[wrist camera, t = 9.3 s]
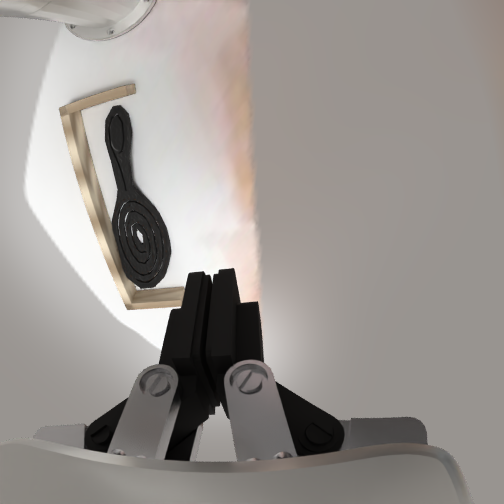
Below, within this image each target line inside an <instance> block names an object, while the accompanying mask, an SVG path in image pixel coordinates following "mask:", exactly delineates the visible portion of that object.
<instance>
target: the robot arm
mask: <svg viewBox="0 0 504 504" xmlns="http://www.w3.org/2000/svg"><path fill="white" fill-rule="evenodd" d="M155 2H156V0H150V1H149V2H148V0H0V17H18V18H30V19H39V20H47V21H55V22H61V23H65V25H66V27H67V28H68V29H69V31H70V32H71V33H73V34H74V35H75V36H77V37H80V38H82V39H86V40H93V41H101V40H108V39H112V38H115V37H118V36H120V35H122V34H124V33H126V32H128V31H129V30H131V29H132V28H134V27H135V26H136V25H137V24H139V23H140V22H141V21H142V20H143V19H144V18H145V17H146V15H147V14H148V13H149V12H150V10H151V9H152V7H153V6H154V4H155ZM75 26H76V27H75ZM113 30H114V32H113V34H112V31H113ZM220 402H221V404H222V406H223V409H224V411H225V413H226V416H227V418H228V419H230V423H231V429H232V434H233V441H234V446H235V452H236V457H237V462H195V461H196V456H197V452H198V448H199V444H200V439H201V435H202V431H203V422H205V421H206V420H207V419H208V418H209V415H214V414H215V407H216V406H220ZM0 504H474V503H473V499H472V496H471V493H470V490H469V487H468V484H467V481H466V479H465V476H464V474H463V472H462V470H461V468H460V466H459V464H458V463H457V461H456V460H455V459H454V457H453V456H452V455H451V454H450V453H448V452H447V451H445V450H444V449H442V448H439V447H435V446H431V445H428V443H427V431H426V428H425V426H424V424H423V423H422V422H421V421H420V420H418V419H416V418H413V417H393V418H351V420H337V419H336V418H335V417H333V416H332V415H330V414H328V413H326V412H325V411H323V410H321V409H320V408H318V407H316V406H315V405H313V404H311V403H309V402H308V401H306V400H305V399H303V398H301V397H300V396H298V395H296V394H295V393H293V392H292V391H290V390H288V389H287V388H285V387H284V386H282V385H281V384H279V383H277V382H276V381H275V379H274V376H273V373H272V371H271V369H270V367H268V366H267V365H266V364H265V363H264V357H263V341H262V329H261V320H260V312H259V305H258V301H257V302H247V303H241V302H240V297H239V291H238V286H237V280H236V275H235V270H234V268H231V269H221V270H219V273H218V274H214V276H213V284H212V280H211V276H210V275H205V273H204V271H202V272H192V273H189V274H188V278H187V282H186V287H185V292H184V296H183V301H182V305H181V308H179V309H172V310H171V313H170V316H169V320H168V325H167V329H166V333H165V338H164V342H163V346H162V351H161V356H160V361H159V364H156V365H153V366H149V367H148V368H146V369H144V370H143V371H142V372H141V373H140V374H139V375H138V377H137V379H136V381H135V383H134V386H133V388H132V390H131V393H130V395H129V397H128V398H127V399H125V400H124V401H122V402H121V403H119V404H118V405H117V406H115V407H114V408H112V409H111V410H110V411H108V412H107V413H105V414H104V415H102V416H101V417H100V418H98V419H97V420H95V421H94V422H93V423H91V424H90V426H86V425H85V424H75V425H61V426H45V427H41V428H40V429H39V430H37V432H36V433H35V435H34V438H33V439H30V438H17V439H11V440H6V441H3V442H1V443H0Z"/></svg>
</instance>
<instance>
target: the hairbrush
mask: <svg viewBox="0 0 504 504" xmlns="http://www.w3.org/2000/svg"><path fill="white" fill-rule="evenodd" d="M117 113H118V115H119V116H118V115H116V114H117ZM127 114H128V113H126V110H125V109H124V108H123V107H121V106H120V105H119V106H114V107H112V109H111V111H110V113H109V114H108V116H107V118H106V120H105V143H106V146H107V150H108V153H109V156H110V160H111V163H112V168H113V172H114V176H115V180H116V185H117V189H118V191H117V201H116V205H115V209H114V213H113V218H112V231H113V234H114V237H115V242H116V247H118V248H117V252H118V251H119V255H120V256H119V257H120V259H121V264H122V269H123V271H124V273H125V275H126V277H127V278H128V279H129V280H130V281H132V282H133V283H134V284H136V285H137V286H138V287H140V288H141V289H142V288H150V289H151V288H152V287H156V285H157V284H158V283H160V281H161V280H162V279H163V278H164V277H165V274H166V272H167V268H168V265H169V259H170V255H171V247H170V240H169V235H168V231H167V228H166V226H165V223H164V221H163V219H162V217H161V215H160V213H159V212H158V211H157V209H155V208H154V207H155V206H153V205H152V204H151V202H150V201H149V200H148V199H147V198H146V197H145V196H144V195H143V194H142V193H141V192H140V191H139V190H138V189H137V188H136V187H135V186H134V185H133V183H132V175H131V166H130V149H131V137H132V130H131V124H130V118H129V117H128V115H129V114H128V115H127ZM115 115H116V116H115ZM114 116H115V117H114ZM122 150H123V151H122ZM128 200H129V201H128ZM127 201H128V202H127ZM137 201H138V202H137ZM125 202H127V203H126V204H124V203H125ZM123 204H124V206H123V207H122V205H123ZM121 207H122V209H121ZM120 209H121V211H120ZM131 210H132V211H131ZM133 210H134V211H133ZM128 212H129V213H128ZM119 213H120V217H119ZM127 213H128V215H127V219H126V222H125V216H126V214H127ZM118 219H119V228H118ZM156 221H157V222H156ZM138 223H139V224H138ZM157 223H158V224H157ZM133 224H134V225H133ZM132 225H133V226H132ZM158 225H159V226H158ZM131 226H132V231H133V236H132V231H131ZM125 227H126V231H125ZM144 228H145V229H144ZM137 229H138V230H139V231H140V232H141V233H142V235H143V243H142V244H141V241H140V240H139V239H138V237H137V232H136V231H138V230H137ZM152 229H153V230H152ZM145 230H146V231H145ZM153 231H154V233H153ZM119 232H120V235H119ZM140 232H139V233H140ZM126 233H127V236H126ZM147 234H148V235H147ZM154 235H155V236H154ZM148 236H149V237H148ZM162 238H163V239H162ZM155 240H156V241H155ZM149 241H150V242H149ZM163 241H164V244H163ZM135 244H136V245H135ZM123 249H124V250H123ZM150 252H151V253H150ZM157 254H158V256H157ZM149 256H150V258H149ZM148 258H149V259H148ZM147 259H148V260H147ZM156 259H157V262H156ZM146 260H147V261H146ZM162 260H163V265H162V267H161V264H162ZM145 261H146V262H145ZM155 262H156V265H155V267H154V264H155ZM153 267H154V268H153ZM160 267H161V269H160ZM152 268H153V270H152V271H151V272H149V271H150V270H151V269H152ZM159 269H160V271H159ZM158 271H159V272H158ZM157 272H158V274H157V275H156V273H157ZM155 275H156V276H155ZM154 276H155V277H154ZM144 290H145V289H144Z"/></svg>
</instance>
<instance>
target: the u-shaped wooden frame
mask: <svg viewBox="0 0 504 504" xmlns="http://www.w3.org/2000/svg"><path fill="white" fill-rule="evenodd" d="M135 93H136V90H135V84H130V85H125V86H121V87H118V88H114V89H111V90H108V91H105V92H102V93H99V94H96V95H93V96H90V97H87V98H84V99H81V100H78V101H76V102H73V103H70V104H68V105H65V106H63V107H60V108H59V111H60V116H61V120H62V125H63V129H64V133H65V137H66V141H67V145H68V149H69V153H70V156H71V160H72V164H73V167H74V171H75V174H76V177H77V181H78V184H79V187H80V190H81V194H82V197H83V200H84V203H85V206H86V209H87V212H88V215H89V218H90V220H91V223H92V226H93V229H94V232H95V234H96V237H97V240H98V242H99V245H100V247H101V250H102V253H103V255H104V258H105V260H106V263H107V265H108V267H109V270H110V272H111V275H112V277H113V279H114V282H115V284H116V286H117V289H118V291H119V293H120V295H121V297H122V300H123V302H124V304H125V306H126V308H127V310H135V309H151V308H166V307H179V306H181V305H182V301H183V296H184V292H185V290H184V287H175V288H164V289H153V290H141V291H136V289H135V286H134V284H133V282H132V281H130V280H129V279H128V278H127V277H126V275H125V273H124V271H123V269H122V264H121V259H120V257H119V256H120V255H119V251H118V252H117V248H118V247H116V242H115V237H114V234H113V231H112V224H111V221H110V218H109V215H108V212H107V209H106V206H105V203H104V199H103V196H102V193H101V190H100V186H99V183H98V179H97V176H96V172H95V169H94V165H93V161H92V158H91V154H90V150H89V146H88V142H87V138H86V134H85V129H84V125H83V121H82V116H81V111H80V110H83V109H86V108H89V107H92V106H95V105H98V104H101V103H104V102H107V101H111V100H114V99H117V98H121V97H124V96H128V95H132V94H135Z"/></svg>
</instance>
